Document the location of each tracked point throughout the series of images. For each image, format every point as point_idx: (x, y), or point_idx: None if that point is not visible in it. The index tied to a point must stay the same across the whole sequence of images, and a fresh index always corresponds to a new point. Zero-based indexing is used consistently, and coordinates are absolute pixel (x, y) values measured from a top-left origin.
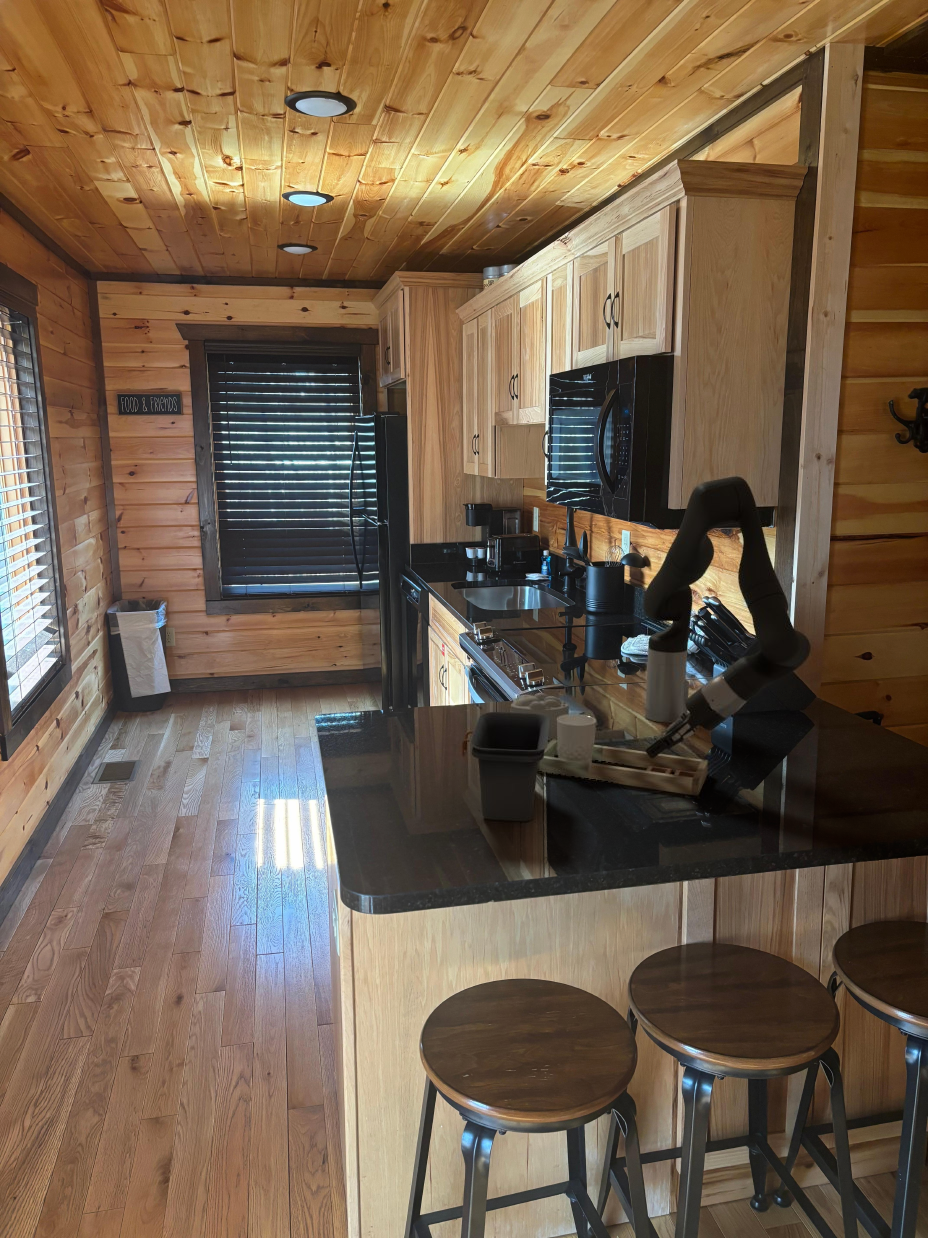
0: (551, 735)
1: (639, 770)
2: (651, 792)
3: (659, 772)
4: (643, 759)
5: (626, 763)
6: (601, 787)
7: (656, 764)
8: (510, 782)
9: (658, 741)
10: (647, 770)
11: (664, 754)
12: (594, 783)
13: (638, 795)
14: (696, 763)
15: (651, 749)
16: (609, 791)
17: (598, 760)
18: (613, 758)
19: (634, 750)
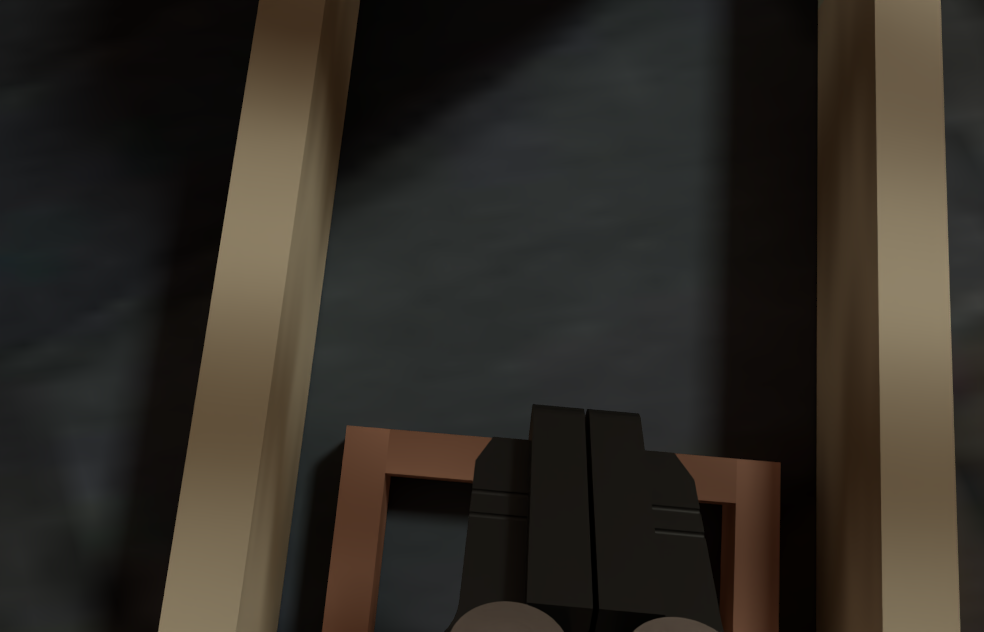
0: None
1: (248, 395)
2: (130, 563)
3: (723, 581)
4: (850, 382)
5: (825, 224)
6: (141, 105)
7: (837, 535)
8: None
9: (525, 602)
10: None
11: (958, 628)
12: (224, 36)
13: (18, 449)
14: None
15: (472, 492)
16: (58, 184)
17: None
18: (836, 84)
19: (943, 251)
